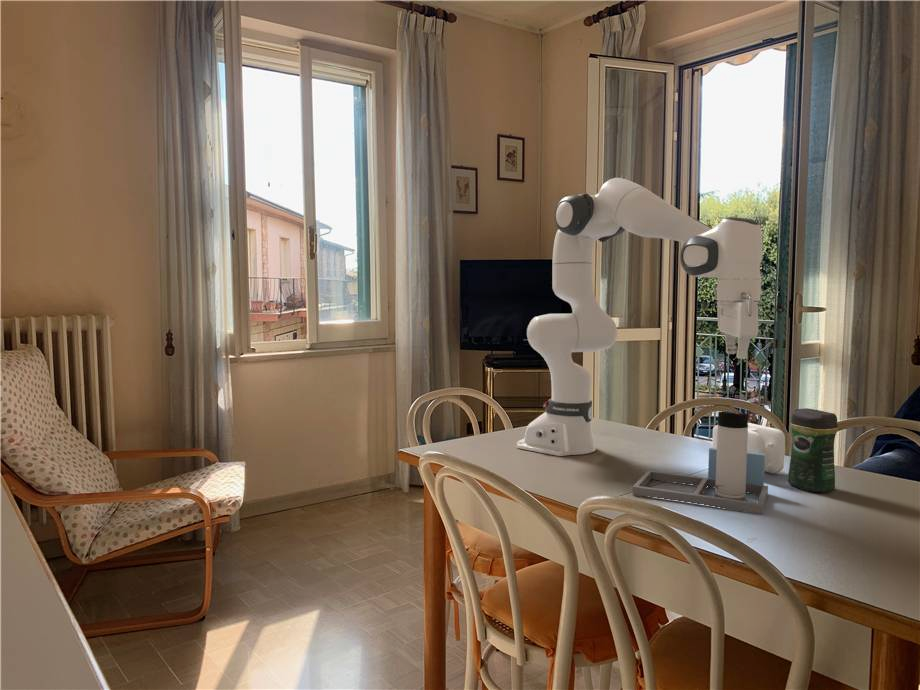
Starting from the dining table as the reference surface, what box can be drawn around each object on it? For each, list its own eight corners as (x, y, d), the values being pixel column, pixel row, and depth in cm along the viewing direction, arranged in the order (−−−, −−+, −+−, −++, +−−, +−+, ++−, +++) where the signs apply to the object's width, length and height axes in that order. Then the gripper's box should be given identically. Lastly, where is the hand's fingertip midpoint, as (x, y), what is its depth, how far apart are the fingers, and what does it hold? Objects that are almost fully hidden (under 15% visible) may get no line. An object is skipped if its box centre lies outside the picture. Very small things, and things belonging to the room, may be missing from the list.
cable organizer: (708, 466, 180) (709, 422, 179) (736, 461, 185) (737, 419, 184) (756, 481, 167) (758, 434, 166) (785, 475, 172) (787, 429, 171)
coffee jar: (841, 491, 159) (845, 412, 158) (817, 495, 156) (821, 414, 154) (805, 480, 168) (808, 404, 166) (781, 484, 165) (785, 407, 163)
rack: (632, 495, 157) (633, 456, 156) (649, 476, 171) (650, 441, 170) (761, 514, 144) (763, 472, 143) (768, 493, 158) (769, 454, 157)
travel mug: (712, 501, 152) (715, 411, 150) (717, 492, 158) (720, 406, 156) (742, 505, 149) (746, 414, 147) (747, 497, 155) (750, 409, 153)
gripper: (768, 293, 139) (765, 362, 140) (741, 291, 159) (739, 351, 160) (735, 293, 139) (732, 361, 141) (713, 291, 160) (711, 351, 161)
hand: (736, 356), depth 151 cm, fingers open, 8 cm apart
